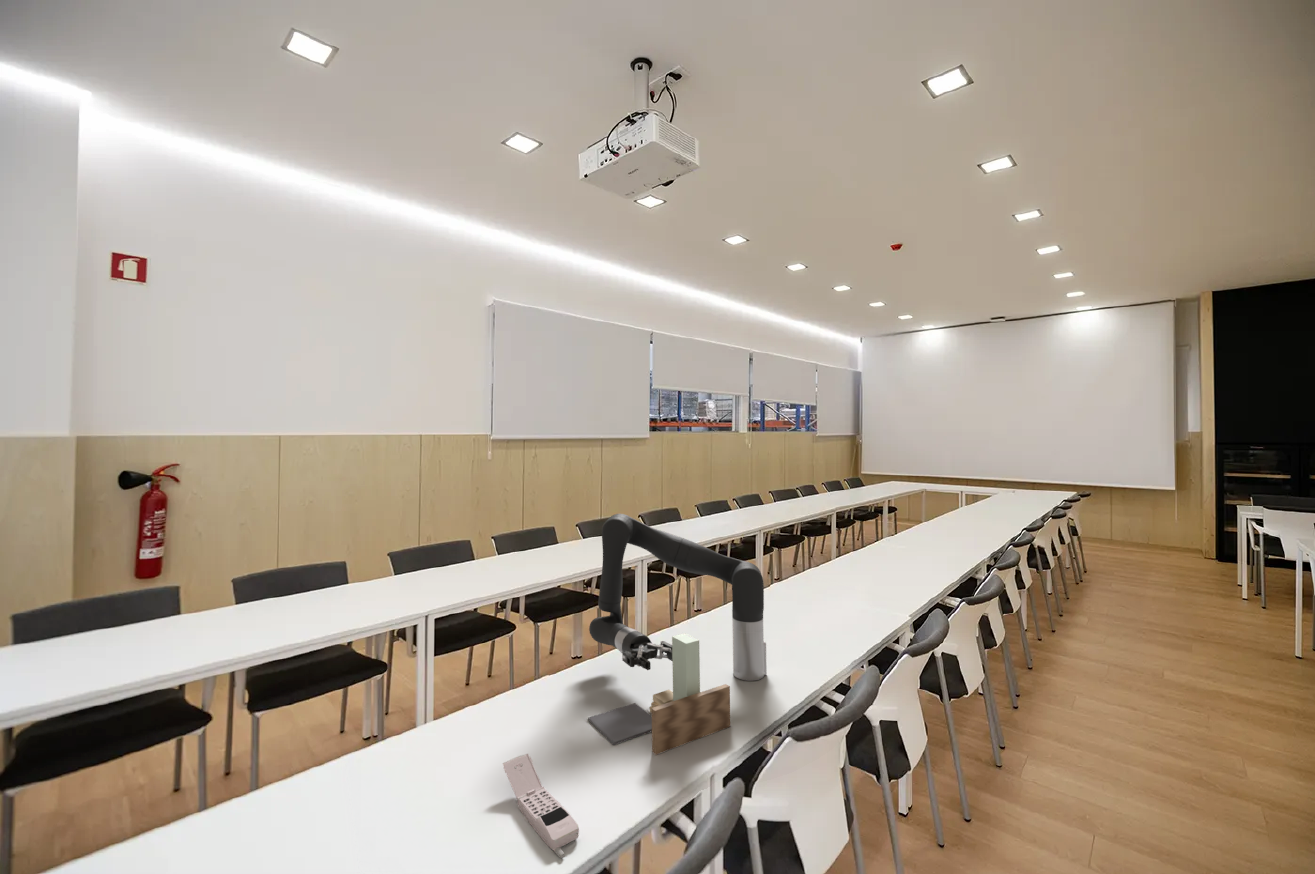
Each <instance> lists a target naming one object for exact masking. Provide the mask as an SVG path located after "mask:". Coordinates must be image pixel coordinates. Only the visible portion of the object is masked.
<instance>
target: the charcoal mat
mask: <svg viewBox="0 0 1315 874" xmlns="http://www.w3.org/2000/svg"><path fill="white" fill-rule="evenodd" d="M587 721H588V722H590V724H591V725H592V726H594V727H595V729H596V730H598V731H599V732H600V734H601V735H603V736H604V737H605V738H606V739H607V741H608V742H610V743H611V744H612V745H613V746H614V745H618V744H620V743H624V742H626V741H629V740H633V739H634V738H637V737H641V736H643V735H645V734H649V733H652V714H650V712H648V711H646V710H645V709H644V708H643V707H641V706H640V705H638V703H636V702H634V703H630V704H627V705H624V706H621V707H617V708H614V709H611V710H608V711H604V712H601V713H598V714H595V715H592V716H588V717H587Z"/></svg>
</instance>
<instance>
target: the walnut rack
mask: <svg viewBox="0 0 1315 874" xmlns="http://www.w3.org/2000/svg"><path fill="white" fill-rule="evenodd" d="M730 694H731V686H730V685H728V684H727V683H725V684H721V685H719V686H716V687H712V688H710V689H709V688H708V689H706V690H703V691H700V693H697V694H694V695H691V696H688V697H684V698H681V699H678V700H675V701H672V702H669V703H666V704H663V705H660V706H657V707H654V708H652V713H651V716H652V732H651V750H652V751H651V752H652V753H653V754H654V755H655V756H657V755H659V754H662V753H664V752H667V751H670V750H672V749H675V748H678V747H680V746H683V745H685V744H688V743H690V742H693V741H696V740H698V739H701V738H705V737H707V736H709V735H712V734H714V733H717V732H720V731H723V730H725V729H728V728H730V727H731V695H730Z"/></svg>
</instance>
